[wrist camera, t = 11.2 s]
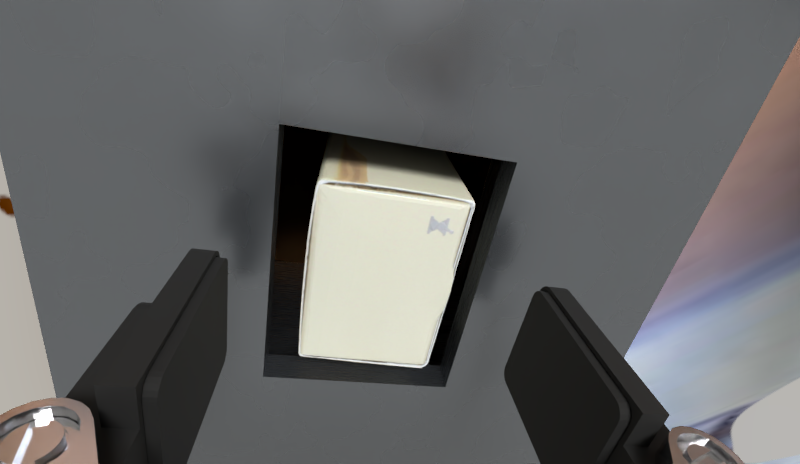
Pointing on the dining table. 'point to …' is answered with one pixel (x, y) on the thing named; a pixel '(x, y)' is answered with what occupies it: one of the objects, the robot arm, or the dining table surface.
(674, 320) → the dining table surface
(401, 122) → the box
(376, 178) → the skincare box
